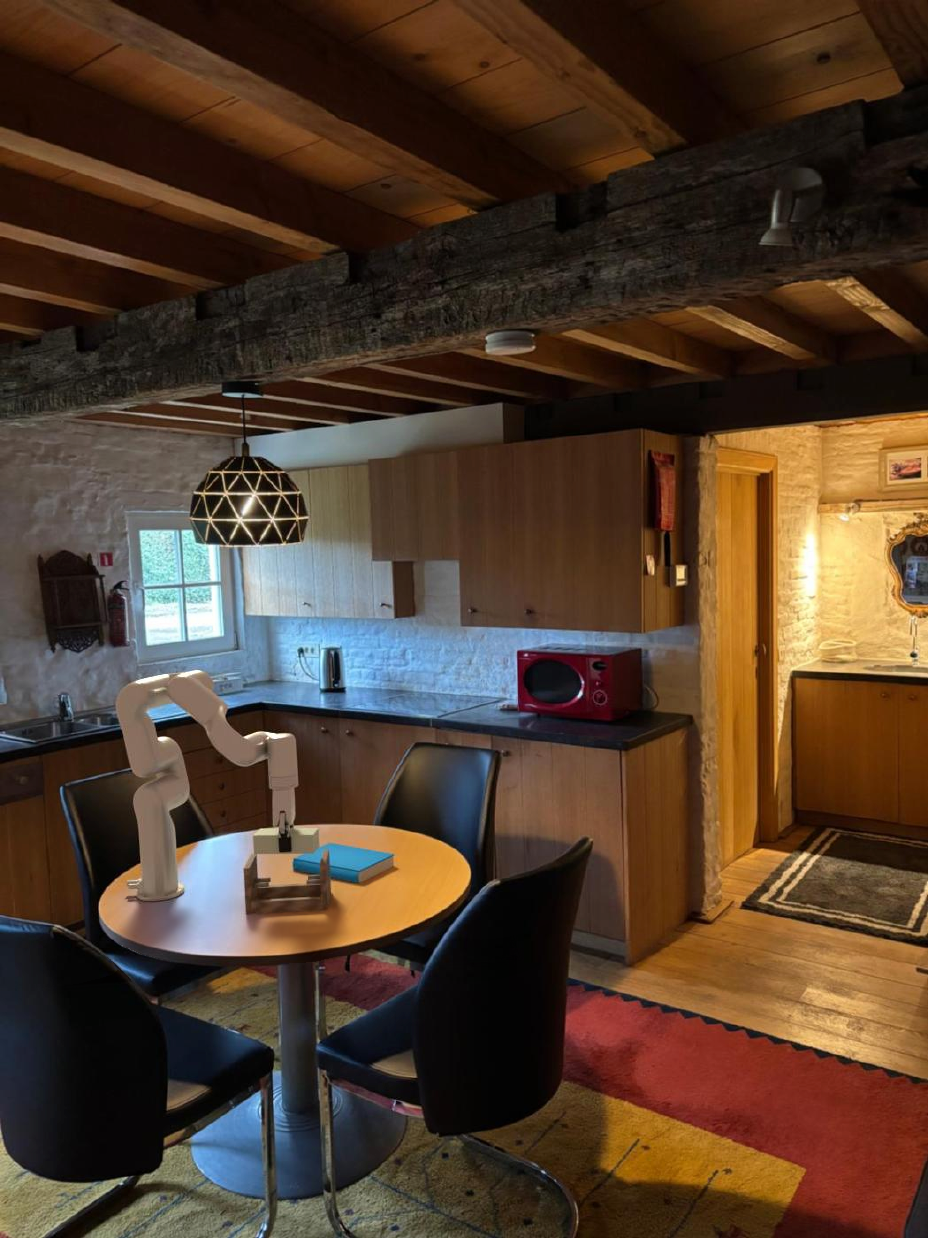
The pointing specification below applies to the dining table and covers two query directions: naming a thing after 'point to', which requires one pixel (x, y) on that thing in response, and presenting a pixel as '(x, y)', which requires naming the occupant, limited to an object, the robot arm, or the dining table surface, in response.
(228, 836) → the dining table surface
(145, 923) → the dining table surface
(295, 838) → the pale green block
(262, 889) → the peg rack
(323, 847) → the book
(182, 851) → the dining table surface
